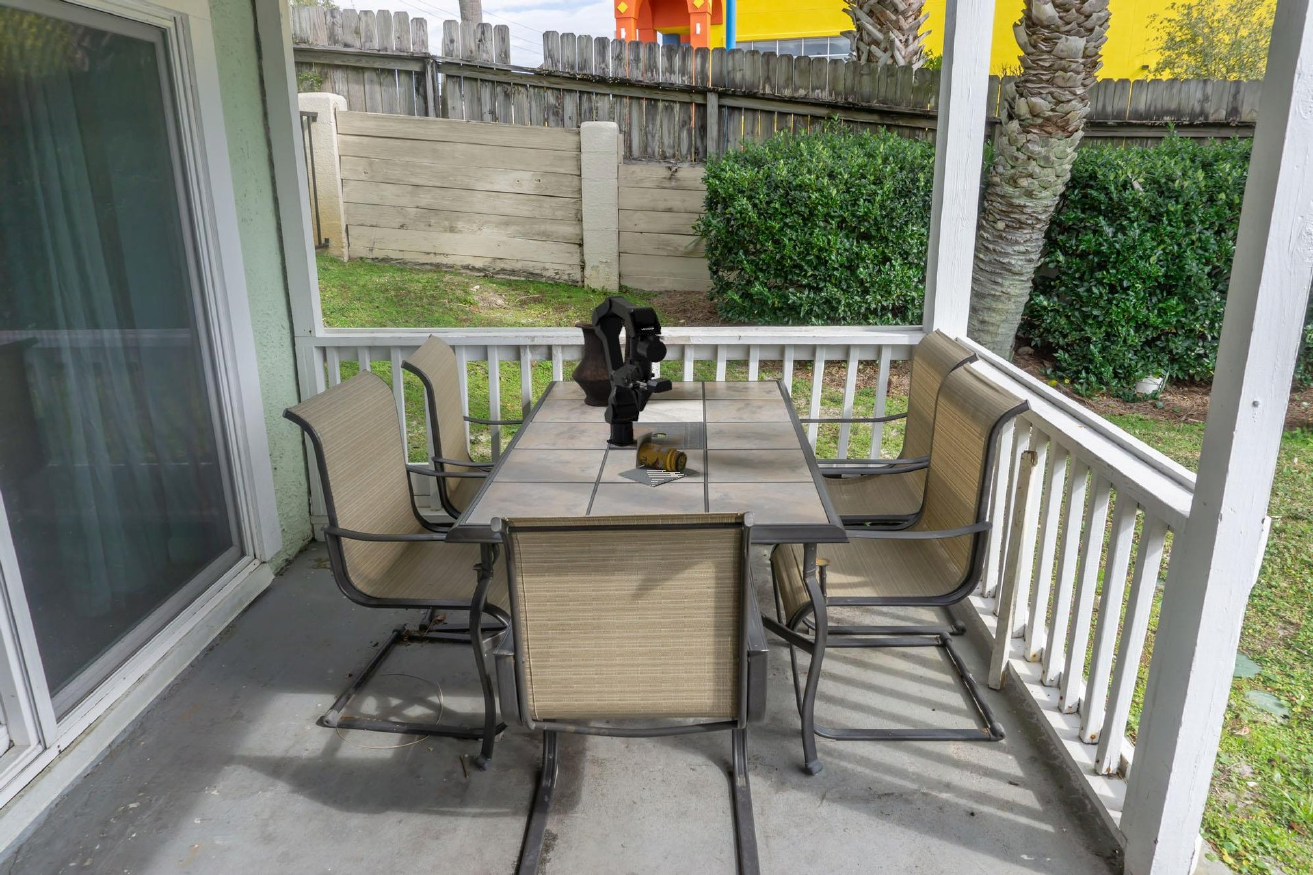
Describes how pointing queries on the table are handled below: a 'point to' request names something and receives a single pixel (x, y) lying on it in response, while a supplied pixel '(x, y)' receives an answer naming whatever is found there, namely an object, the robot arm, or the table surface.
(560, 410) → the table surface
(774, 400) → the table surface
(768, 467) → the table surface
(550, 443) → the table surface
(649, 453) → the condiment
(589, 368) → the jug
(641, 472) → the mat
